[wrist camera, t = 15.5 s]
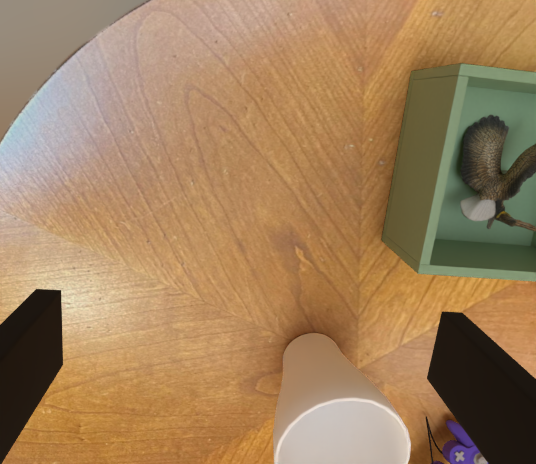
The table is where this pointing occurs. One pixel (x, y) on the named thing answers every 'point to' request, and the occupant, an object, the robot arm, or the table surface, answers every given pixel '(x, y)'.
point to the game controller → (458, 447)
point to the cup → (333, 411)
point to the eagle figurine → (492, 173)
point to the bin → (449, 175)
